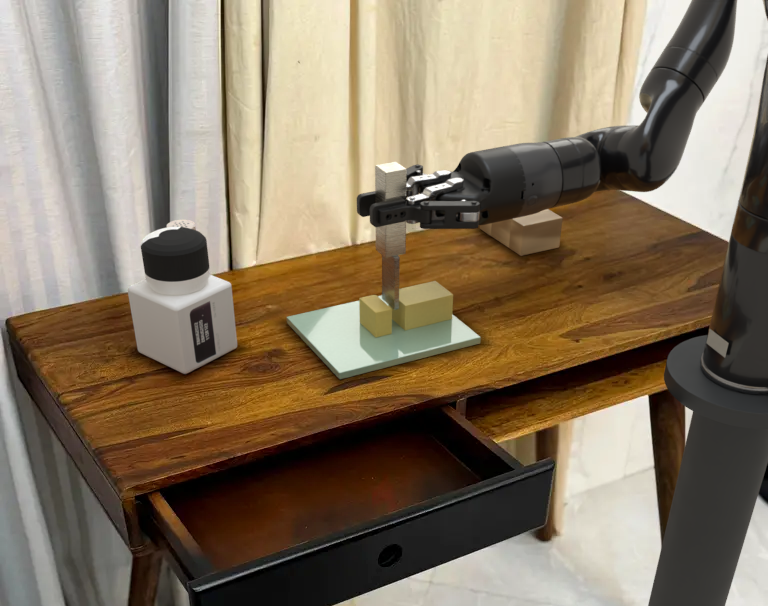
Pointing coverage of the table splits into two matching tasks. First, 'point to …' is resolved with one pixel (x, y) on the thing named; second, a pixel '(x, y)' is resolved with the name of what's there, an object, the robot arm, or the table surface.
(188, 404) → the table surface
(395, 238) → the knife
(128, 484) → the table surface
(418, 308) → the butter block
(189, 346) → the container
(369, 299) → the block
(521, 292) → the table surface
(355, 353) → the butter board
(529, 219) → the knife stand
